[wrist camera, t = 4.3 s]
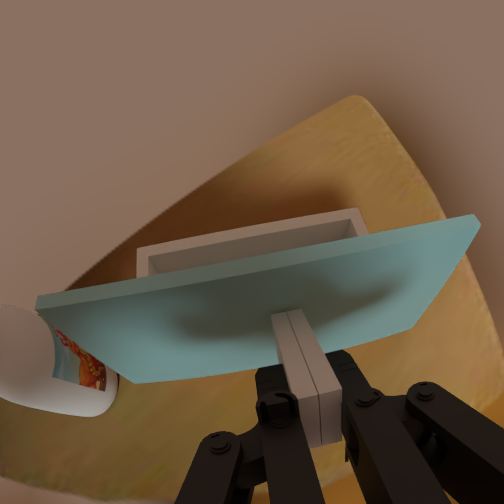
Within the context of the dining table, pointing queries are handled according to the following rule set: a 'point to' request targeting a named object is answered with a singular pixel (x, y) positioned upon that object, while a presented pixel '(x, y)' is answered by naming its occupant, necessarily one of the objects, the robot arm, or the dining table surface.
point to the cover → (261, 302)
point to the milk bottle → (50, 368)
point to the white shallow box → (249, 241)
